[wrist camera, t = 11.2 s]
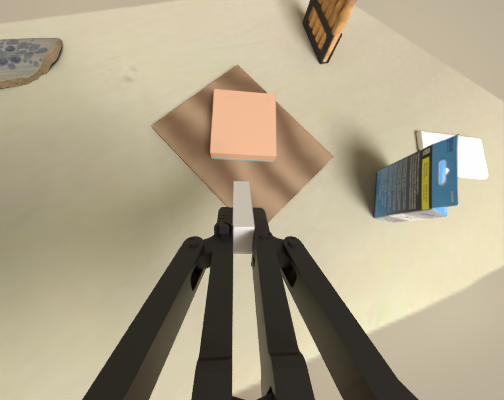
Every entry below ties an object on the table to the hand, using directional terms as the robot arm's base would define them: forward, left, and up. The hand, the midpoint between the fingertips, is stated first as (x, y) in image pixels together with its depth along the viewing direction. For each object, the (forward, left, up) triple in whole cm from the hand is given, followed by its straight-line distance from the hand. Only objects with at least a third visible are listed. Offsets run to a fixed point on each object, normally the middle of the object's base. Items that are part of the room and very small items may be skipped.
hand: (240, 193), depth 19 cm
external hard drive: (+36, -20, -12) cm, 43 cm away
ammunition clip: (+35, +14, -11) cm, 39 cm away
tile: (+6, +5, -9) cm, 12 cm away
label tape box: (+20, -16, -11) cm, 28 cm away
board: (+9, +7, -11) cm, 16 cm away
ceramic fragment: (-9, +42, -12) cm, 44 cm away
